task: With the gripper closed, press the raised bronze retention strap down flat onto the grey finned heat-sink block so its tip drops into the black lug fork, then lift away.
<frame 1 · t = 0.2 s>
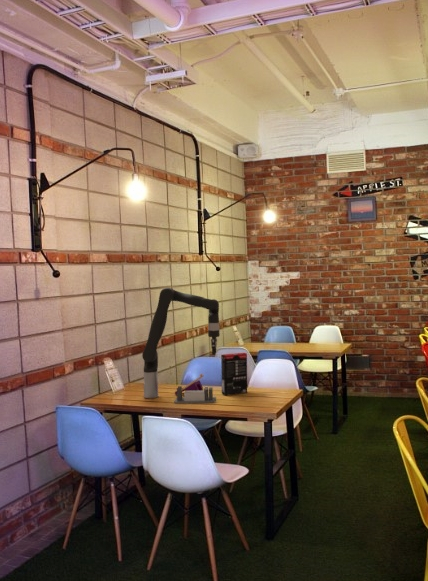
hand: (214, 353, 382), 28 cm above the table, tool pointing down, fingers open, 8 cm apart
graphics card box: (235, 394, 389), on the table
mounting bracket: (187, 395, 390), on the table
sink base: (195, 401, 370), on the table
strap: (190, 383, 370), point 12 cm above the table, hinge at 32.0°
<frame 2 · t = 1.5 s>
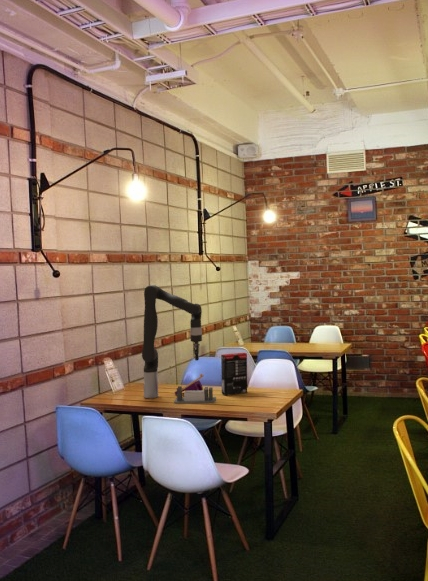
hand: (196, 360, 379), 25 cm above the table, tool pointing down, fingers closed
nothing on the table moved.
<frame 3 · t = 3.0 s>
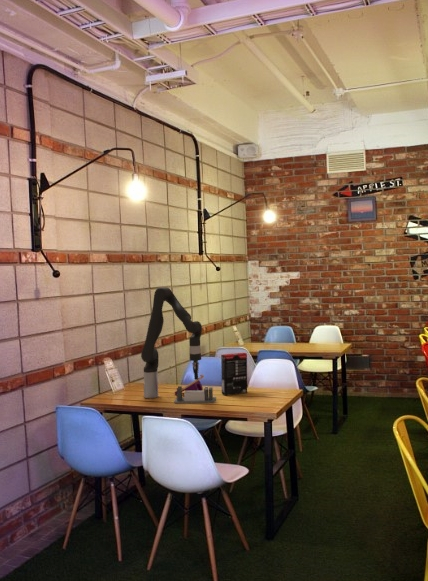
hand: (196, 379, 370), 14 cm above the table, tool pointing down, fingers closed
strap: (190, 383, 370), point 11 cm above the table, hinge at 30.6°, touching gripper
everything else where it was.
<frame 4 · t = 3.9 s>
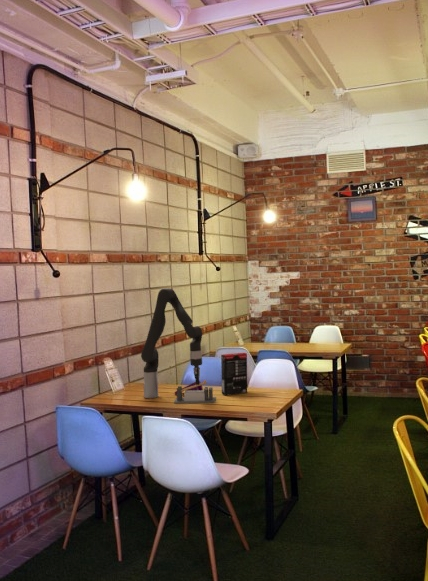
hand: (197, 384, 370), 11 cm above the table, tool pointing down, fingers closed
strap: (192, 386, 370), point 10 cm above the table, hinge at 16.9°, touching gripper
everything else where it was.
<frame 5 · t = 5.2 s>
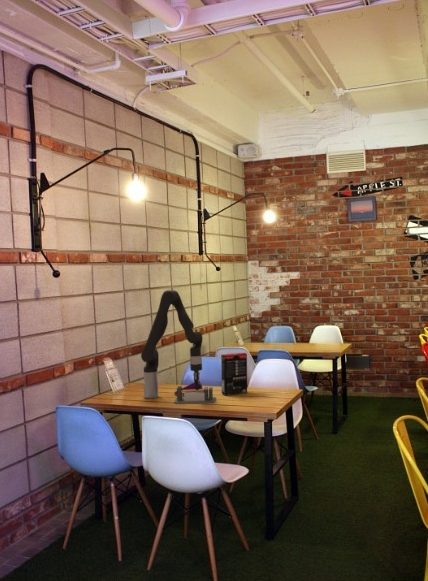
hand: (197, 389, 370), 7 cm above the table, tool pointing down, fingers closed
strap: (193, 389, 370), point 7 cm above the table, hinge at 2.5°, touching gripper
everything else where it was.
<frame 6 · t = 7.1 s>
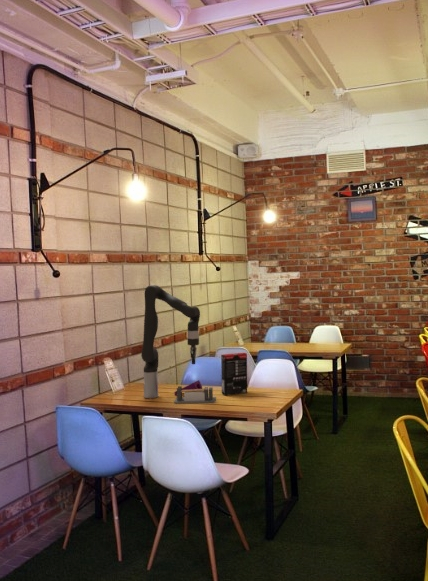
hand: (193, 364, 374), 23 cm above the table, tool pointing down, fingers closed
strap: (193, 389, 370), point 7 cm above the table, hinge at 2.5°
everything else where it was.
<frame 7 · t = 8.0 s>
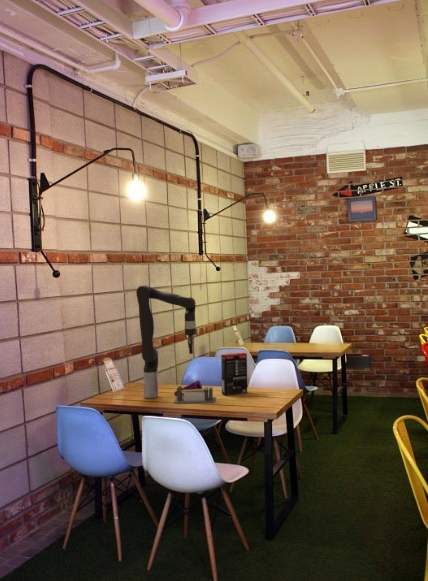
hand: (191, 353, 382), 29 cm above the table, tool pointing down, fingers closed
nothing on the table moved.
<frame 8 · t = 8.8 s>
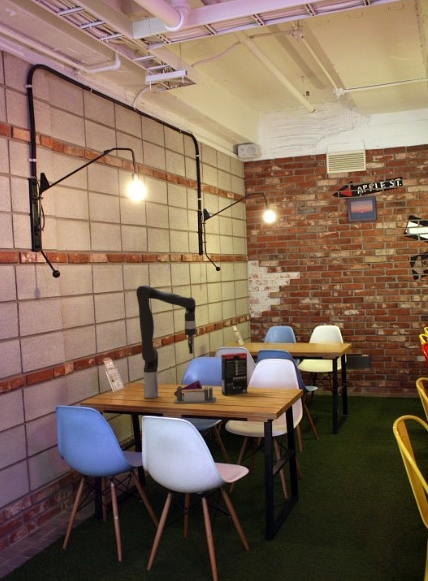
hand: (191, 353, 382), 29 cm above the table, tool pointing down, fingers closed
nothing on the table moved.
at the end: strap at +2° (first picture: +32°) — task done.
